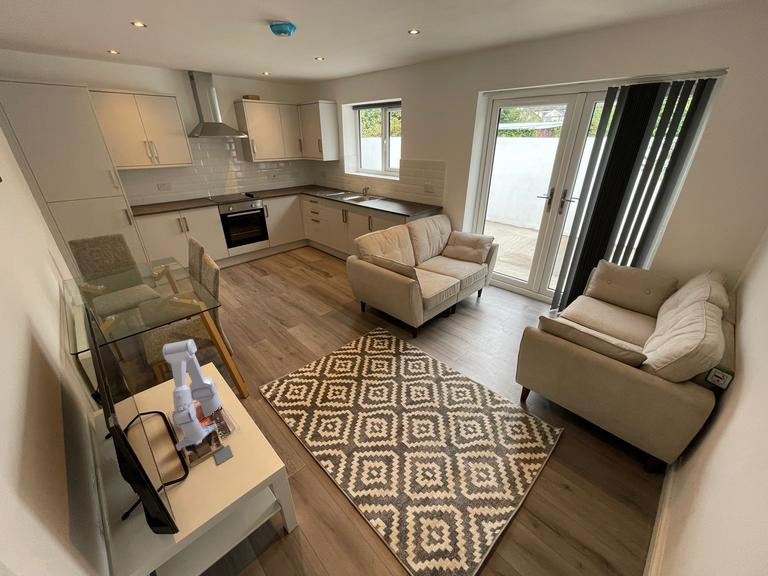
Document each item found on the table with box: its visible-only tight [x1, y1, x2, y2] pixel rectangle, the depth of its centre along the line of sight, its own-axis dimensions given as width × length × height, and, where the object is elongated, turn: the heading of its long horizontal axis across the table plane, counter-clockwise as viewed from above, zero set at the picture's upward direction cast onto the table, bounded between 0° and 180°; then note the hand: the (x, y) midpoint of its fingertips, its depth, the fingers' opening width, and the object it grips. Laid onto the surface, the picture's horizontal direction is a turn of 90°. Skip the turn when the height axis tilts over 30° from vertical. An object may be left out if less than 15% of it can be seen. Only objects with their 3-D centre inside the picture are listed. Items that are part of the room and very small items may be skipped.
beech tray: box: [181, 420, 225, 469], centre depth 130 cm, size 15×13×2 cm
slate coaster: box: [213, 444, 234, 466], centre depth 126 cm, size 6×6×1 cm
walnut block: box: [194, 437, 213, 458], centre depth 127 cm, size 4×4×6 cm
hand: (204, 448), depth 127 cm, fingers closed on walnut block, 4 cm apart
